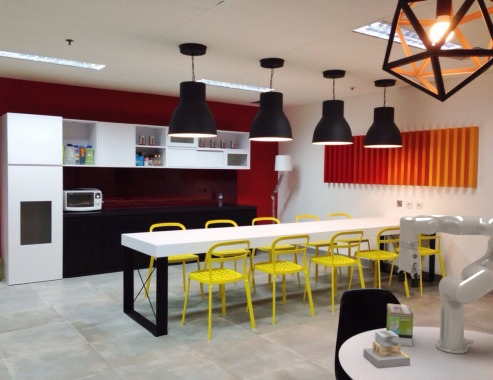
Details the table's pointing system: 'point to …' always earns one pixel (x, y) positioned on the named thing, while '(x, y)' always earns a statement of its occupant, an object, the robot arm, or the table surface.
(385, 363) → the dock
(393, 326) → the tea box
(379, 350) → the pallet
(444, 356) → the table surface
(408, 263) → the robot arm
